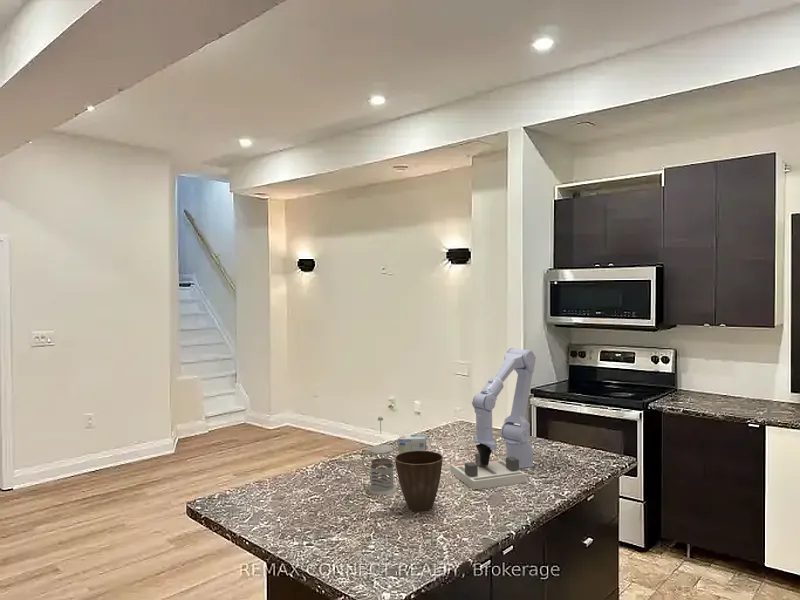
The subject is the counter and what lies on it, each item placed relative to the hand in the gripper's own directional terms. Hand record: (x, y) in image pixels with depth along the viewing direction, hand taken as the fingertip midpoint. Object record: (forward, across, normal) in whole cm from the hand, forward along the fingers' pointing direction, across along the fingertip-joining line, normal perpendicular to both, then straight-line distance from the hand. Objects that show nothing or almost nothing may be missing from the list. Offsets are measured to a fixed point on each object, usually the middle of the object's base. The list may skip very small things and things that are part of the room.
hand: (485, 464), depth 213 cm
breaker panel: (+4, +1, 0) cm, 4 cm away
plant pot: (+4, +19, -32) cm, 38 cm away
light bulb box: (+4, -25, -19) cm, 31 cm away
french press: (+4, -2, -39) cm, 39 cm away
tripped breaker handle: (+1, -3, 0) cm, 3 cm away
